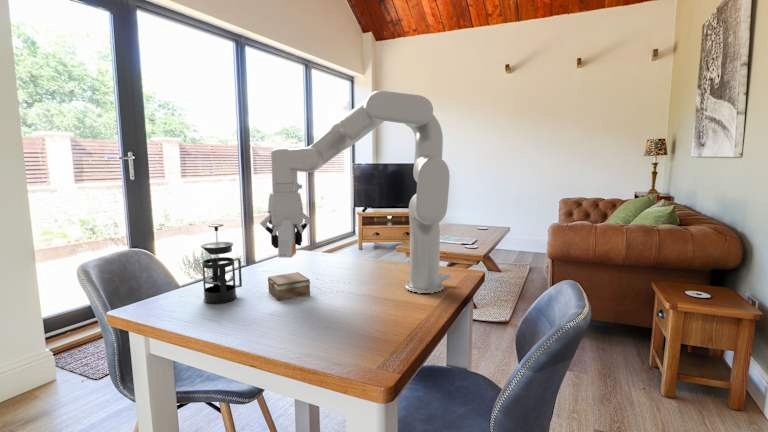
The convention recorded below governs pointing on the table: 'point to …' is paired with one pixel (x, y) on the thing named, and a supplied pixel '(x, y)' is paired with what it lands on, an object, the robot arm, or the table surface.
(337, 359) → the table surface
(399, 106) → the robot arm
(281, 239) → the skincare box
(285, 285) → the gift box
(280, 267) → the table surface
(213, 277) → the french press
